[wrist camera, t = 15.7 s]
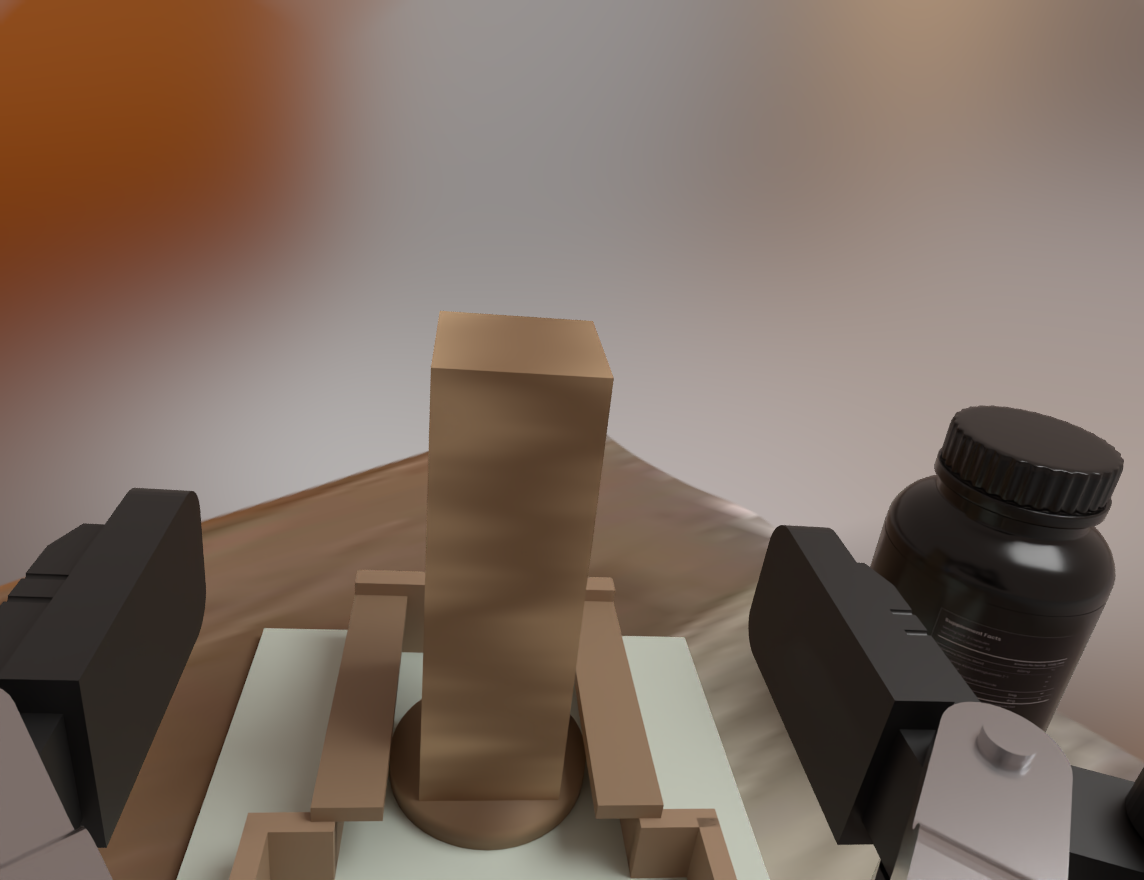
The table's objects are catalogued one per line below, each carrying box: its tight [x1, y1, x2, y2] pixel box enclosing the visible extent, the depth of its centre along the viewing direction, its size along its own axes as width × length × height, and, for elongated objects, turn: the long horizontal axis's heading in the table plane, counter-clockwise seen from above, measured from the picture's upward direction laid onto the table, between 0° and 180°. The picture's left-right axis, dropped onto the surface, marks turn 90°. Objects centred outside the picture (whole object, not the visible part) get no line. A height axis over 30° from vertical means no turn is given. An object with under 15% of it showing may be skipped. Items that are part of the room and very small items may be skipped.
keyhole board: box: [176, 570, 770, 880], centre depth 23 cm, size 16×19×3 cm
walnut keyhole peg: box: [390, 311, 614, 850], centre depth 23 cm, size 6×6×14 cm
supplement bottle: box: [870, 406, 1124, 732], centre depth 28 cm, size 7×7×12 cm
